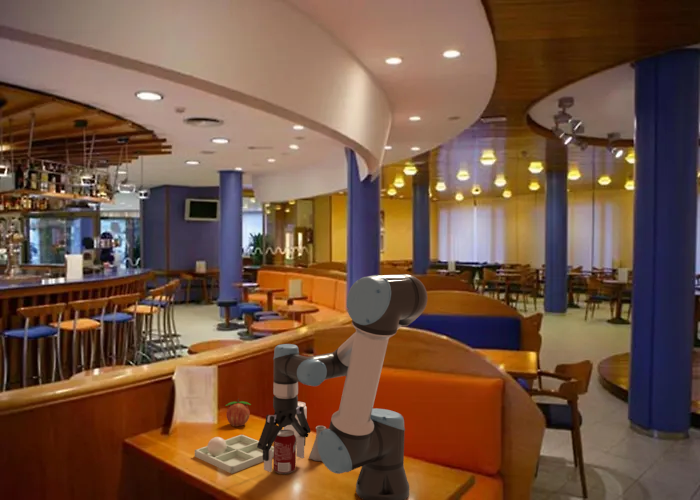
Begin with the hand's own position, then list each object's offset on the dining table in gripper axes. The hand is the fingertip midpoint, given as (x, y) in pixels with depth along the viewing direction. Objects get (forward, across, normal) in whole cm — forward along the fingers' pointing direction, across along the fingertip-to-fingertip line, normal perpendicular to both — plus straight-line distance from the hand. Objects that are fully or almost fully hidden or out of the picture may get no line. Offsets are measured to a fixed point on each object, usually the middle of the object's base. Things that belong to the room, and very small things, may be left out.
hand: (284, 463), depth 171 cm
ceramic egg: (+1, +9, -23) cm, 24 cm away
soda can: (+2, 0, 0) cm, 2 cm away
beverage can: (+2, -22, -18) cm, 29 cm away
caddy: (+2, +4, -18) cm, 19 cm away
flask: (+2, -15, +1) cm, 15 cm away
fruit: (+2, -16, -43) cm, 46 cm away
